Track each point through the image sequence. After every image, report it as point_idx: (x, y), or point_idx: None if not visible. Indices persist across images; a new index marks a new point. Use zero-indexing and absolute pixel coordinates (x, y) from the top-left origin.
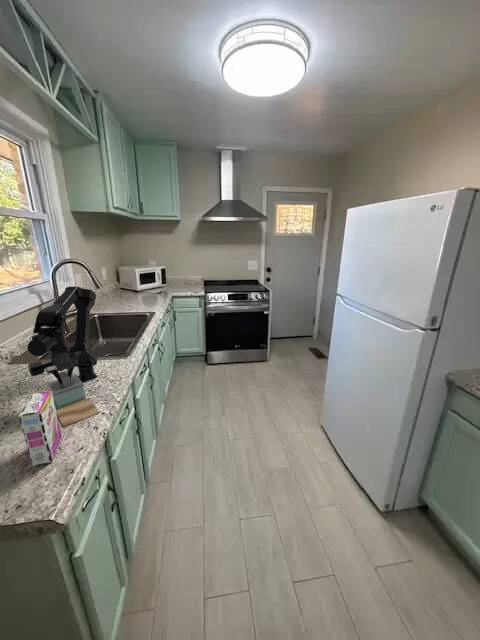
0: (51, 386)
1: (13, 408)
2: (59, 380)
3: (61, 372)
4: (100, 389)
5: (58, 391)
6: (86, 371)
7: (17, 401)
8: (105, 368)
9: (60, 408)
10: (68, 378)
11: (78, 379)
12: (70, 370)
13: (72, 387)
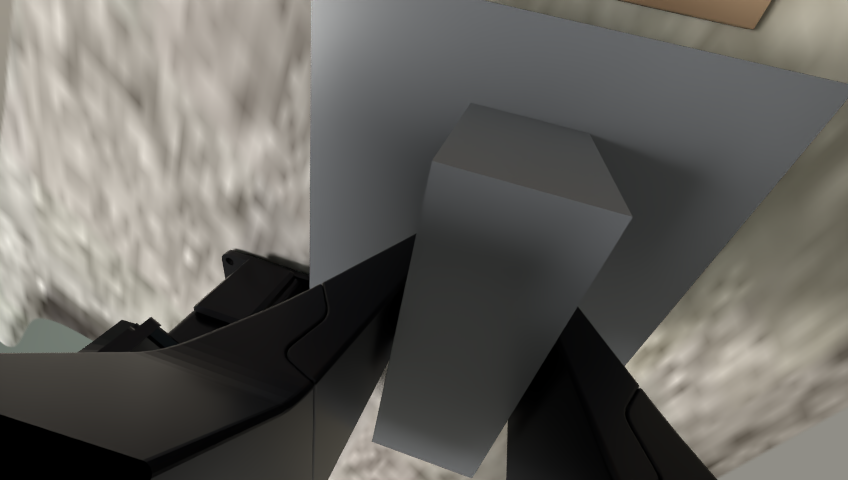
0: (630, 336)
1: (798, 389)
2: (571, 317)
3: (431, 449)
4: (250, 42)
5: (733, 104)
6: (235, 317)
7: (702, 426)
8: (171, 296)
9: (700, 8)
10: (474, 162)
11: (323, 202)
12: (287, 353)
13: (496, 19)
